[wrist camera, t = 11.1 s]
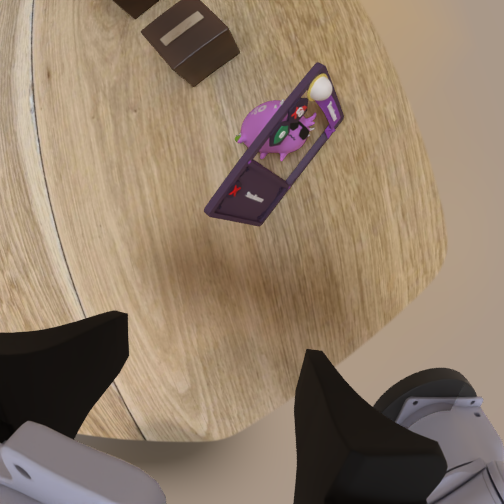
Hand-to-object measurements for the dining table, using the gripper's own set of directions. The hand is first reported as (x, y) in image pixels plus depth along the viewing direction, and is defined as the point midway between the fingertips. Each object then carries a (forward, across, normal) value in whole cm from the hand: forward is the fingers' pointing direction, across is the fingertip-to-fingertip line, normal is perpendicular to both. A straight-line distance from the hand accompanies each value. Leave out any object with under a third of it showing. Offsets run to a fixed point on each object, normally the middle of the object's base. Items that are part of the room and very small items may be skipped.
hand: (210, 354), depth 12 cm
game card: (+11, -1, -8) cm, 14 cm away
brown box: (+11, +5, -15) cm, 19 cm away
